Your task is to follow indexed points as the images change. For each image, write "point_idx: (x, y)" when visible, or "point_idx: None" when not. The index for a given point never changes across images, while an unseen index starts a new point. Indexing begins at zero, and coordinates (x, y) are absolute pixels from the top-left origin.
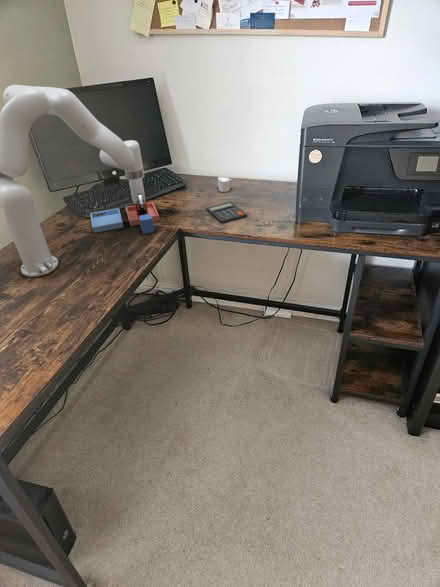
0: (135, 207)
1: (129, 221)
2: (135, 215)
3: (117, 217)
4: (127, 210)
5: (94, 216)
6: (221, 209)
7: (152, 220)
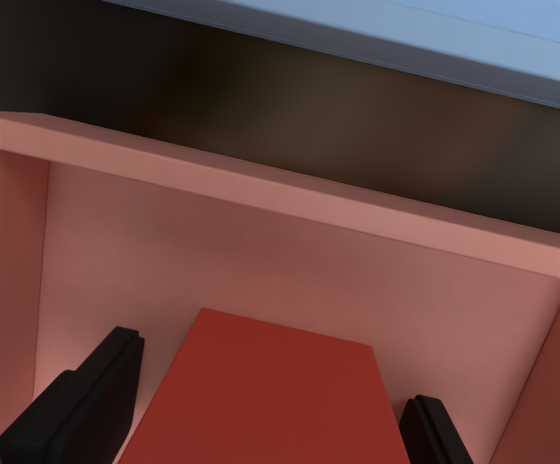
0: (318, 438)
1: (38, 121)
2: (331, 312)
3: (481, 4)
4: (475, 252)
5: None
6: None
7: None
